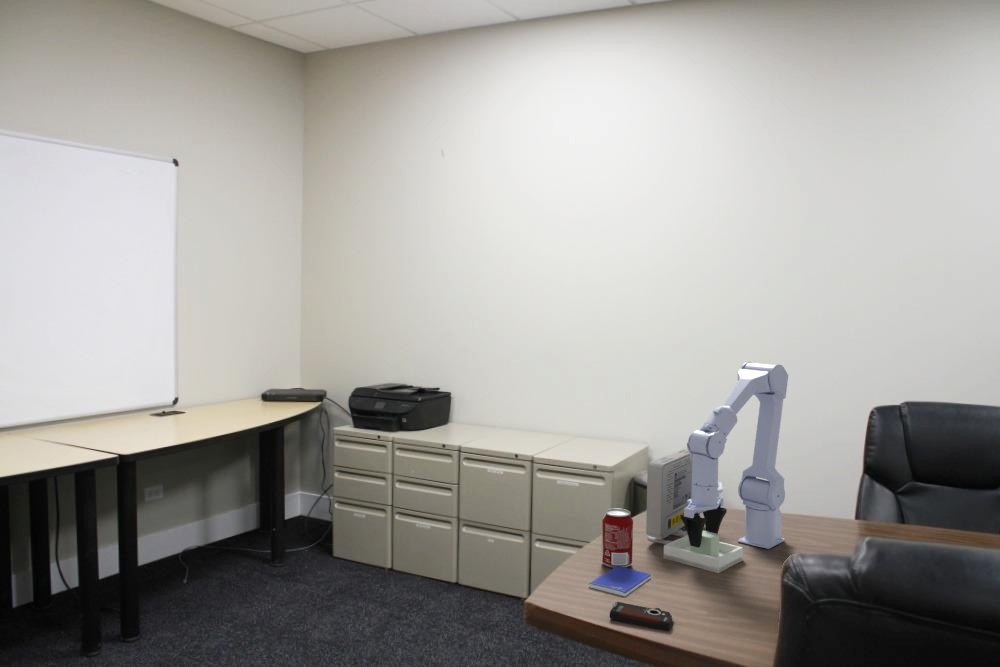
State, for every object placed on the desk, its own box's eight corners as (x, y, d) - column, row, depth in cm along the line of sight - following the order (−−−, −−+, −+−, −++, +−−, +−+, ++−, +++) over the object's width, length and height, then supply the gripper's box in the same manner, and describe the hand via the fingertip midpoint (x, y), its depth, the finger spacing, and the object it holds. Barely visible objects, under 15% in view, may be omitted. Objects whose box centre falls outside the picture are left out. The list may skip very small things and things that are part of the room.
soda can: (631, 571, 167) (633, 517, 167) (600, 569, 168) (601, 515, 168) (632, 560, 174) (633, 508, 173) (602, 558, 175) (603, 506, 174)
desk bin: (689, 546, 184) (689, 534, 184) (742, 560, 175) (742, 547, 175) (663, 558, 176) (663, 545, 176) (718, 573, 167) (718, 559, 166)
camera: (619, 596, 148) (676, 608, 143) (618, 611, 148) (675, 623, 143) (609, 606, 142) (669, 618, 137) (609, 621, 142) (668, 633, 137)
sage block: (699, 550, 178) (699, 529, 178) (718, 555, 175) (719, 534, 175) (690, 554, 175) (690, 533, 175) (710, 560, 172) (710, 538, 172)
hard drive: (625, 591, 153) (650, 573, 163) (588, 582, 158) (616, 565, 168) (624, 599, 153) (650, 580, 163) (588, 589, 158) (616, 572, 168)
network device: (678, 518, 208) (680, 445, 207) (710, 524, 202) (712, 449, 201) (637, 543, 187) (638, 461, 186) (671, 550, 182) (672, 466, 181)
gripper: (704, 475, 183) (703, 531, 183) (672, 486, 172) (671, 545, 173) (732, 480, 178) (730, 538, 178) (701, 491, 167) (699, 553, 168)
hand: (703, 542), depth 175 cm, fingers open, 7 cm apart
